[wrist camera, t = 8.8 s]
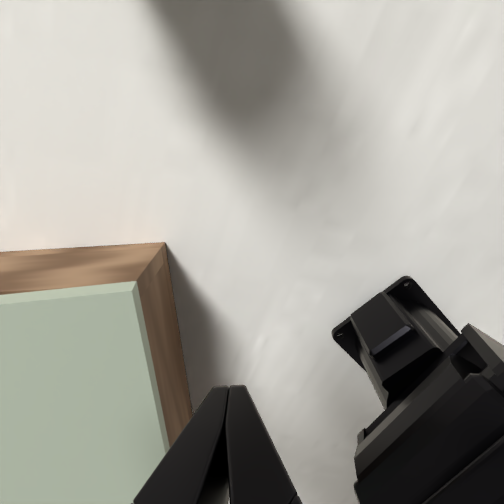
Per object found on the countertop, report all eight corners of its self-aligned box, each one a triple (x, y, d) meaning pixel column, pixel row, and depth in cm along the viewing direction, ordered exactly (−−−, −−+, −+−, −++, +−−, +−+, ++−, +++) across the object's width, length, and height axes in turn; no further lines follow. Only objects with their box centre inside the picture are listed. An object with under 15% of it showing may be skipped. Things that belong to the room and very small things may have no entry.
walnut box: (165, 242, 21) (133, 284, 15) (196, 443, 27) (182, 526, 21) (-39, 254, 21) (-144, 299, 16) (36, 450, 27) (-20, 535, 22)
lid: (136, 280, 15) (131, 290, 14) (186, 530, 21) (185, 548, 20) (-192, 314, 14) (-220, 327, 13) (-41, 568, 20) (-53, 589, 19)
